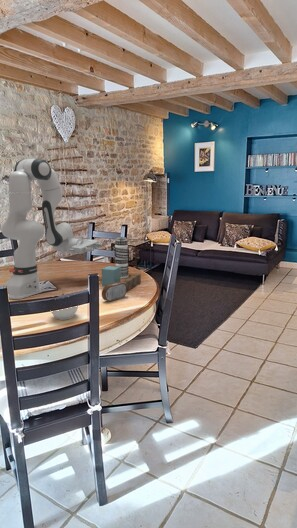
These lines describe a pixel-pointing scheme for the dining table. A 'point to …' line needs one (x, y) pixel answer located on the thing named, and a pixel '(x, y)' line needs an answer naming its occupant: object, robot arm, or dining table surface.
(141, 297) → the dining table surface
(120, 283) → the oval wooden speaker
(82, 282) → the dining table surface
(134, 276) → the walnut board
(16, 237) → the robot arm
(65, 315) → the lidded bowl
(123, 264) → the decorative candle
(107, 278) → the slate block
